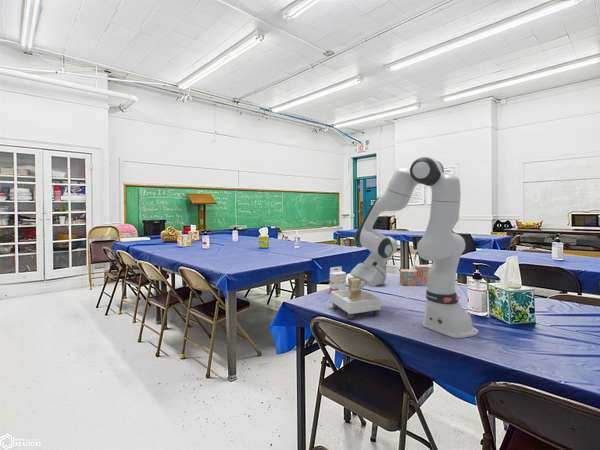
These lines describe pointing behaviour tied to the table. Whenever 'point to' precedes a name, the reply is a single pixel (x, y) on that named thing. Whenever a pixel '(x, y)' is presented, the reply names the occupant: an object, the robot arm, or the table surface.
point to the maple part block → (354, 289)
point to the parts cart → (356, 303)
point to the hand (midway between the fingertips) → (355, 287)
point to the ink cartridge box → (337, 279)
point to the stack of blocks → (414, 276)
